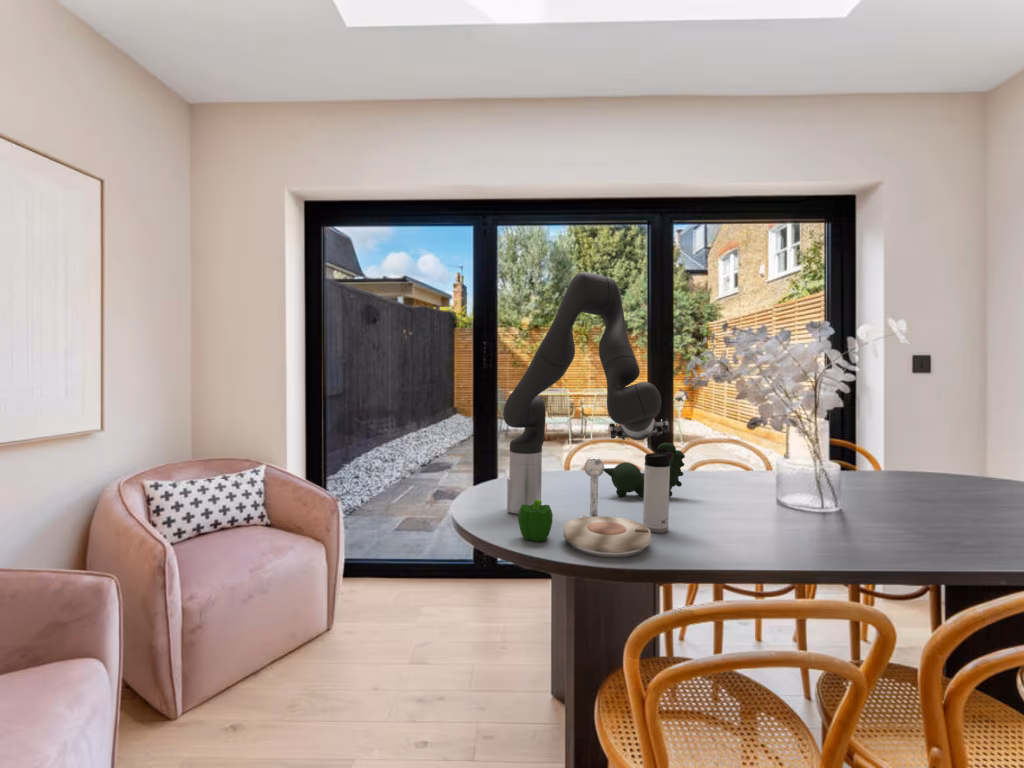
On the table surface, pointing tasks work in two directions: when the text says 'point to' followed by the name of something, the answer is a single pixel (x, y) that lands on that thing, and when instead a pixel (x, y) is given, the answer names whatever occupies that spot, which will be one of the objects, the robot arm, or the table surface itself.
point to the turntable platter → (607, 534)
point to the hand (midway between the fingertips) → (640, 434)
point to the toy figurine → (632, 479)
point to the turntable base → (606, 554)
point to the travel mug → (656, 491)
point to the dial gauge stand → (594, 482)
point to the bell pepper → (535, 521)
